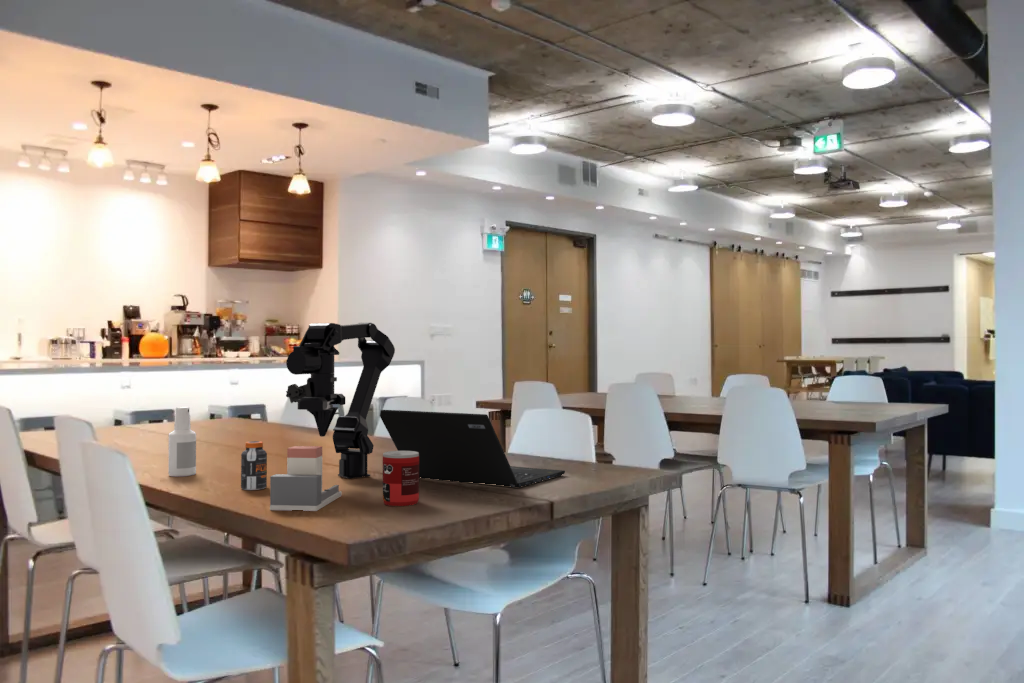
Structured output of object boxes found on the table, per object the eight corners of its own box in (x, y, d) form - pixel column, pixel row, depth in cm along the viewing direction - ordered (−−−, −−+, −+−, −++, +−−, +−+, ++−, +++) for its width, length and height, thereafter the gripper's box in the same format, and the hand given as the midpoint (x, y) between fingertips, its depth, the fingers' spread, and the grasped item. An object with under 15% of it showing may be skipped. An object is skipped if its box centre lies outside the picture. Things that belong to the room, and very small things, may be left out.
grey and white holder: (299, 494, 183) (299, 464, 183) (341, 495, 182) (341, 465, 182) (269, 510, 166) (269, 476, 166) (316, 510, 165) (316, 477, 165)
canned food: (386, 499, 177) (386, 450, 177) (421, 499, 177) (421, 450, 177) (379, 506, 170) (379, 455, 170) (416, 506, 169) (416, 455, 169)
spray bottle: (189, 476, 208) (189, 408, 208) (163, 476, 208) (164, 408, 208) (200, 472, 215) (200, 406, 215) (175, 472, 215) (175, 406, 215)
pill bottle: (258, 491, 188) (258, 443, 188) (236, 490, 189) (236, 442, 189) (271, 486, 194) (271, 440, 194) (249, 485, 195) (249, 439, 195)
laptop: (566, 477, 210) (566, 404, 210) (487, 500, 178) (487, 414, 178) (464, 467, 228) (465, 399, 228) (376, 486, 196) (376, 408, 196)
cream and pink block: (294, 495, 174) (294, 446, 174) (322, 496, 174) (322, 446, 174) (287, 499, 170) (287, 448, 170) (316, 500, 170) (316, 448, 170)
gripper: (304, 372, 206) (304, 432, 206) (276, 374, 188) (276, 440, 188) (346, 372, 205) (345, 432, 205) (322, 374, 187) (322, 440, 187)
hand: (322, 436), depth 196 cm, fingers closed
